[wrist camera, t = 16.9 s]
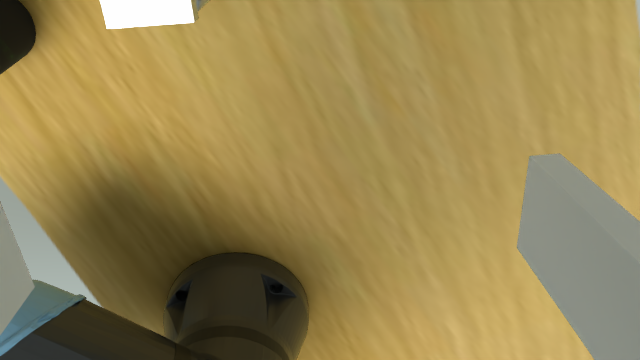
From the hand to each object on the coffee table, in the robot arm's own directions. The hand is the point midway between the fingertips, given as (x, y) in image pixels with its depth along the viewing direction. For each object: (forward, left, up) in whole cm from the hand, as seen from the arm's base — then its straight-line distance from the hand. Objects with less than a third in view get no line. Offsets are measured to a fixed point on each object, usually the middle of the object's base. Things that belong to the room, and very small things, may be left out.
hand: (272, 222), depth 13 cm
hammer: (+3, +8, -32) cm, 33 cm away
